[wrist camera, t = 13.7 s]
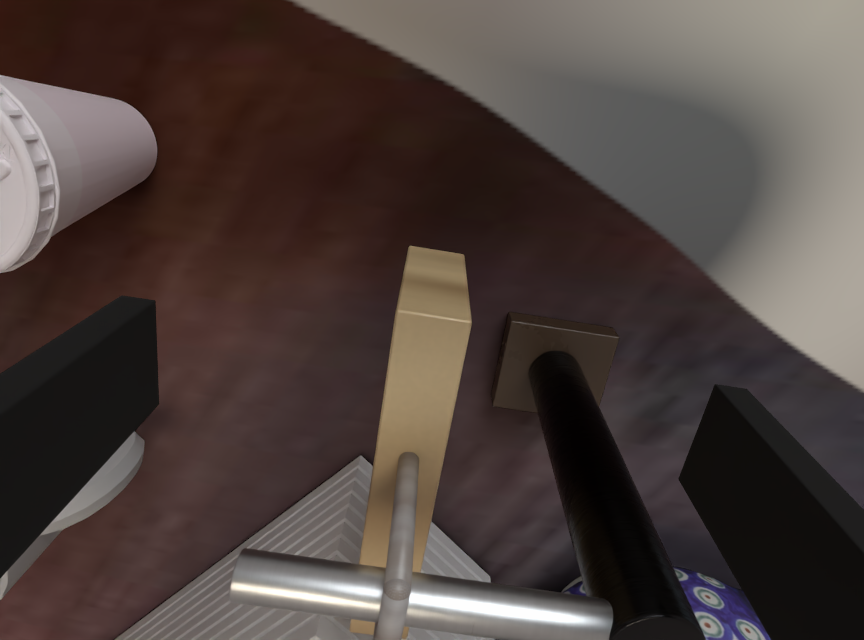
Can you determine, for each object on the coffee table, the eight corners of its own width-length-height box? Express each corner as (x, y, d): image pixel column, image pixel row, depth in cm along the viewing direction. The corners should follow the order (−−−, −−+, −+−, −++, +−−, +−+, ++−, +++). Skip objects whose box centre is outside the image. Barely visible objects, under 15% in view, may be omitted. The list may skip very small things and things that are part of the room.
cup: (-33, 371, 29) (-225, 482, 21) (156, 352, 28) (35, 460, 20) (21, 487, 32) (-131, 628, 24) (195, 473, 31) (102, 613, 23)
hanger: (408, 245, 20) (375, 411, 10) (464, 253, 20) (484, 426, 10) (369, 509, 25) (320, 797, 15) (415, 515, 25) (396, 805, 15)
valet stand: (349, 286, 27) (230, 517, 12) (613, 327, 27) (796, 598, 13) (341, 372, 29) (226, 663, 14) (589, 409, 29) (727, 731, 14)
